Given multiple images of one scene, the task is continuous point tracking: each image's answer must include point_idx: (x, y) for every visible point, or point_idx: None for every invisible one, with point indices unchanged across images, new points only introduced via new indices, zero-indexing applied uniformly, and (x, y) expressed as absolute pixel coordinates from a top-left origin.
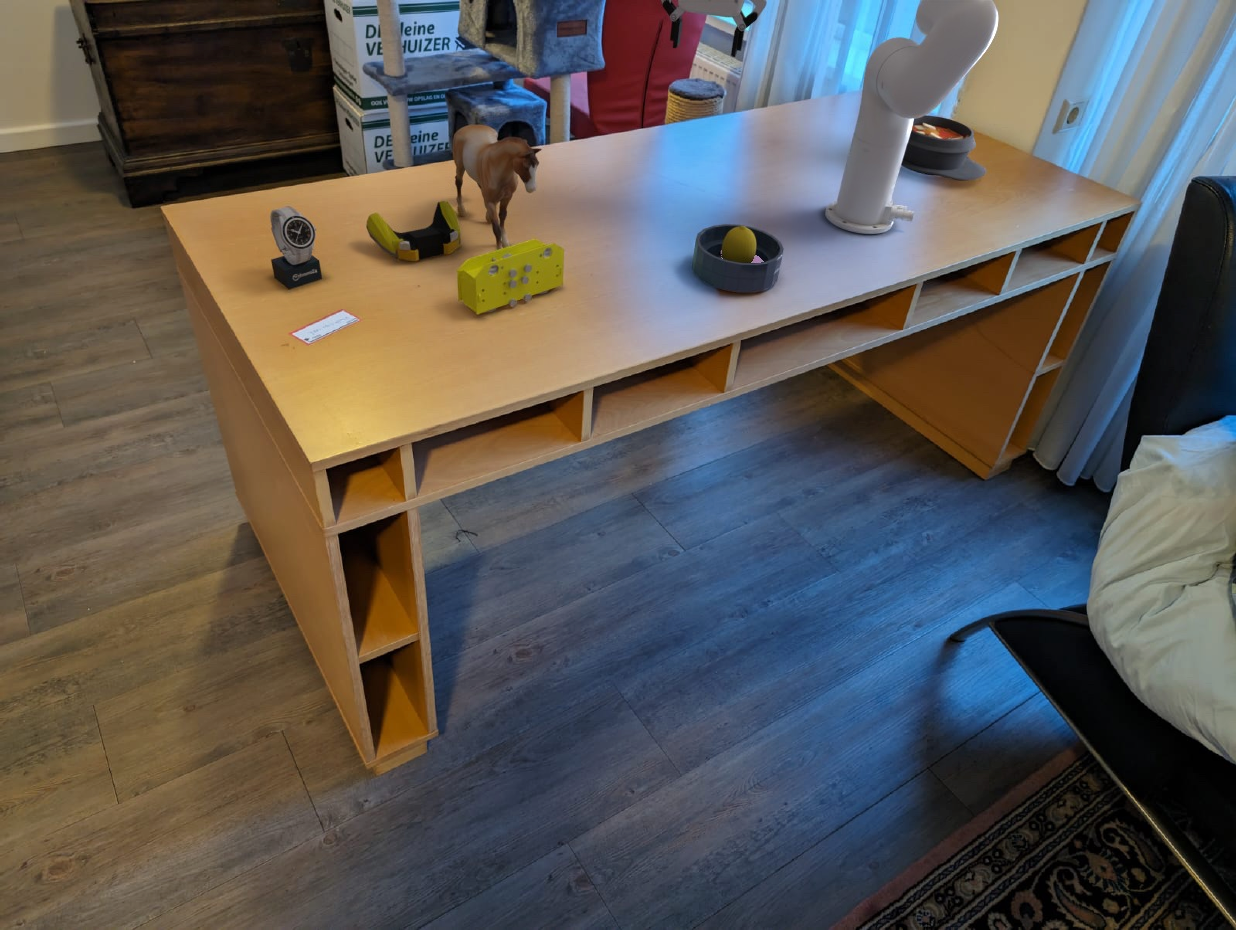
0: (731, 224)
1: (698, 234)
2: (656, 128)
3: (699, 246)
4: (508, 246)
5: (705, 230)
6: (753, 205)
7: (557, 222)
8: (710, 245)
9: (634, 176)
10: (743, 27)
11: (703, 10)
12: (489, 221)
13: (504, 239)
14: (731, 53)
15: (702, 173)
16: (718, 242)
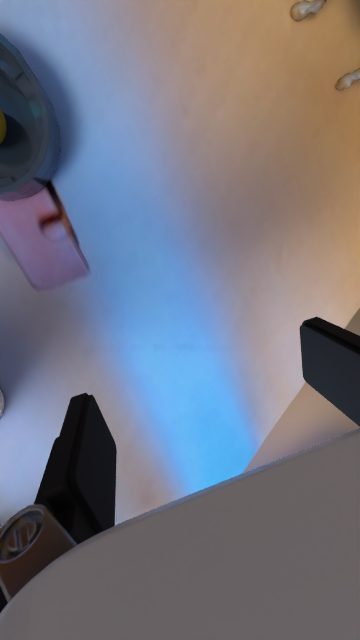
0: (22, 183)
1: (44, 104)
2: (261, 444)
3: (14, 48)
4: (295, 6)
5: (43, 129)
6: (87, 351)
7: (267, 146)
8: (38, 140)
9: (237, 329)
10: (12, 535)
11: (344, 457)
12: (340, 78)
13: (307, 2)
14: (88, 398)
15: (177, 386)
16: (34, 159)
